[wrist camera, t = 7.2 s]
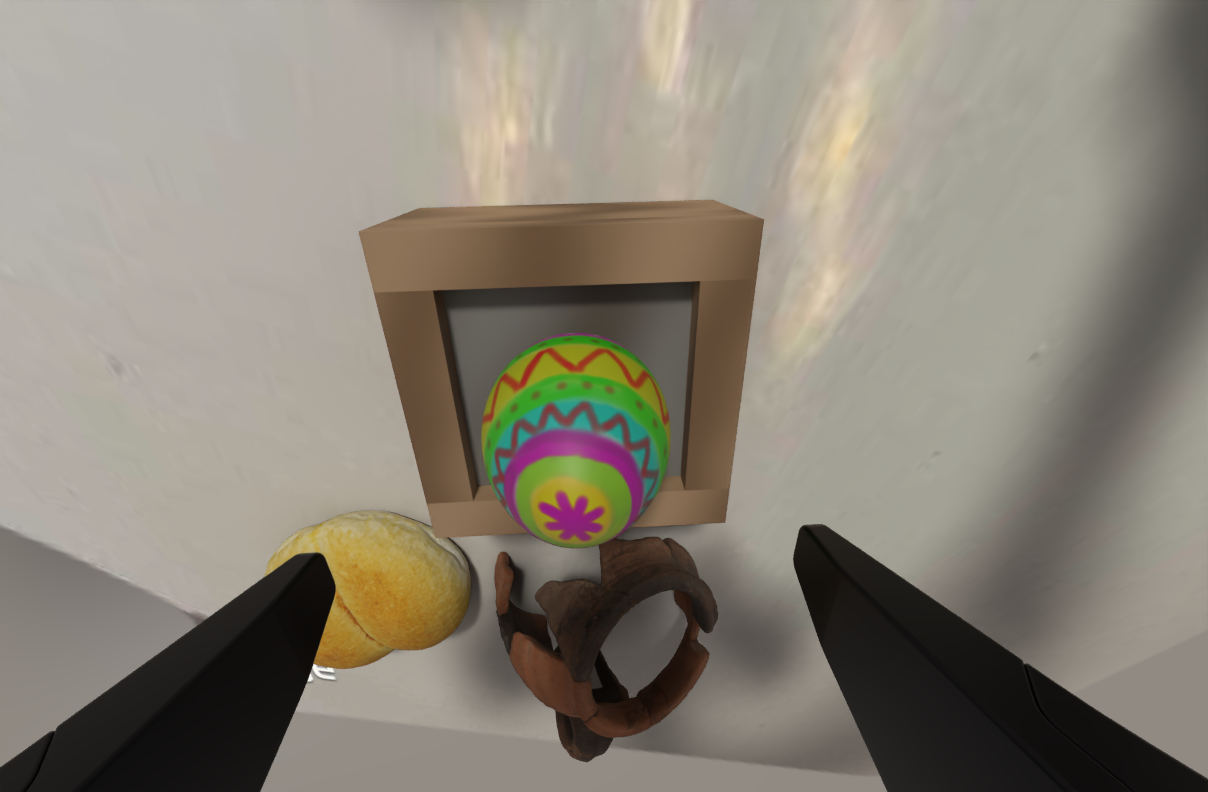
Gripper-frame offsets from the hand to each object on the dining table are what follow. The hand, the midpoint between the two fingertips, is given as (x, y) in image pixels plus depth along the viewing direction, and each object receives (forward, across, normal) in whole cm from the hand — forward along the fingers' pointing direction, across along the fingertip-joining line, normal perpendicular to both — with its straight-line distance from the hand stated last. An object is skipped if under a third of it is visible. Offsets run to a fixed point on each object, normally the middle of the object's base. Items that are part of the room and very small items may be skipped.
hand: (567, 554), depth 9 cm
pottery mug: (+11, 0, +13) cm, 17 cm away
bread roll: (+11, +10, +12) cm, 19 cm away
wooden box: (+11, 0, 0) cm, 11 cm away
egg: (+7, 0, 0) cm, 7 cm away
